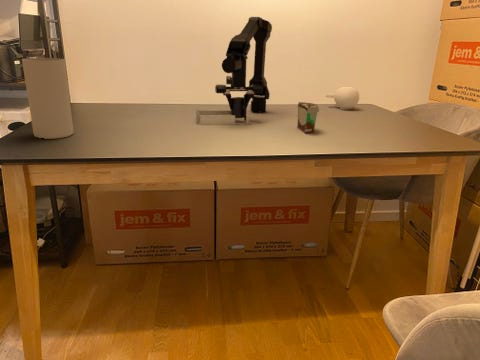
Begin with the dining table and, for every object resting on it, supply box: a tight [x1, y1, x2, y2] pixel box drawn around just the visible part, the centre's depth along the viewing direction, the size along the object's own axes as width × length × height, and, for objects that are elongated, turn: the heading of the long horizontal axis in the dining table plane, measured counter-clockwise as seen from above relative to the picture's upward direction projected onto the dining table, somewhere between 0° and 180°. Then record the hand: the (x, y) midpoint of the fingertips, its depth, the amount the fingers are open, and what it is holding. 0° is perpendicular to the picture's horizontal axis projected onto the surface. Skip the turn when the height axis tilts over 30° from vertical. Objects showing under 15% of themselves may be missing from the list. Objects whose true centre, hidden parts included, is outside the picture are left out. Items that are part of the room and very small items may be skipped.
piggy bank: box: [325, 86, 360, 111], centre depth 200 cm, size 12×12×15 cm
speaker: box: [231, 93, 248, 121], centre depth 165 cm, size 8×6×10 cm
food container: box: [296, 101, 320, 134], centre depth 152 cm, size 12×6×10 cm, turn 9°
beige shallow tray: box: [195, 109, 253, 126], centre depth 165 cm, size 22×13×4 cm, turn 99°
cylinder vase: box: [21, 57, 74, 140], centre depth 132 cm, size 12×12×25 cm
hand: (238, 110), depth 165 cm, fingers closed on speaker, 5 cm apart
